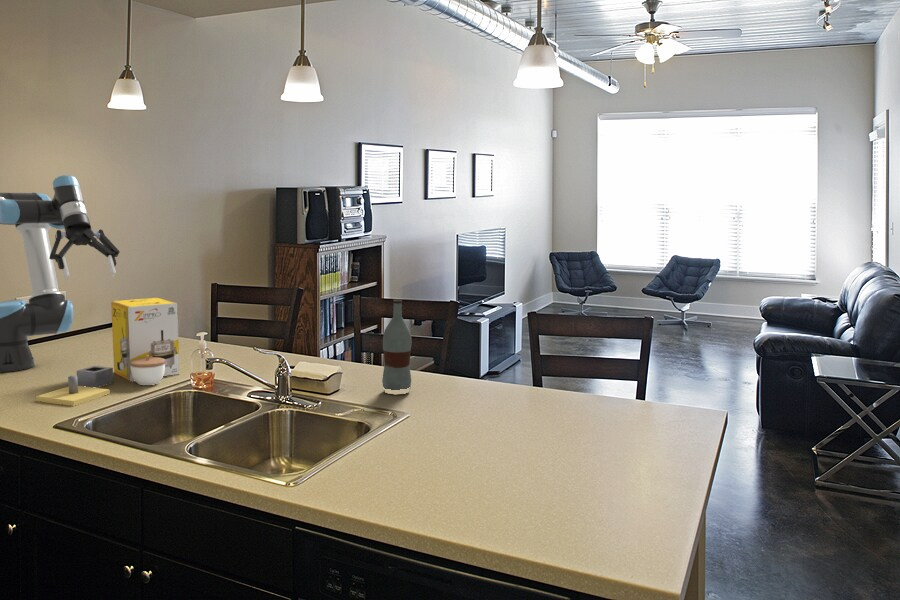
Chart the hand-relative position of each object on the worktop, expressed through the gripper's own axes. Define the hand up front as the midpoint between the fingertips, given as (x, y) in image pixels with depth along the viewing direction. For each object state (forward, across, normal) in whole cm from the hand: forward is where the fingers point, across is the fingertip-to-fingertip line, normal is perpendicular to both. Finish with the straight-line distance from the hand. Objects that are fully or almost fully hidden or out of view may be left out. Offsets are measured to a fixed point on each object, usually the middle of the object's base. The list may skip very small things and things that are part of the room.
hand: (91, 276), depth 230 cm
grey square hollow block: (+26, +2, +26) cm, 36 cm away
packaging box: (+23, +20, +29) cm, 42 cm away
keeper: (+33, -9, +16) cm, 38 cm away
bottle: (+66, +71, -30) cm, 102 cm away
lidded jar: (+32, +15, +18) cm, 39 cm away
